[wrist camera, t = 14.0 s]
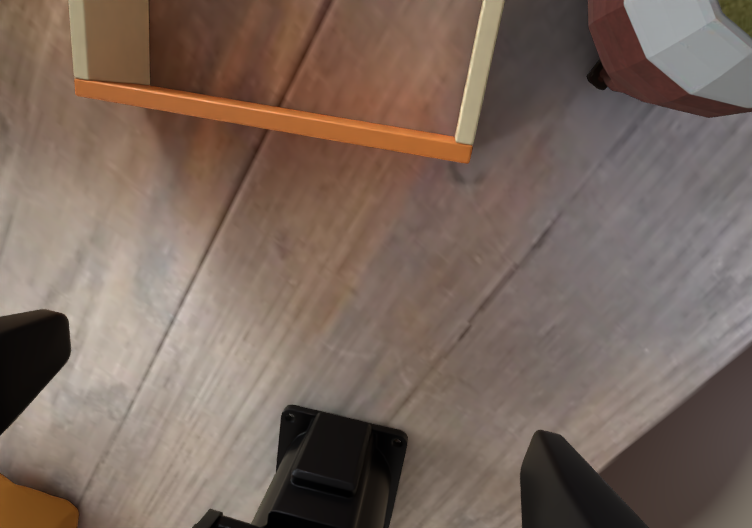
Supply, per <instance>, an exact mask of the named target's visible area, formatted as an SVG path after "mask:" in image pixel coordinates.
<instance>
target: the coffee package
mask: <svg viewBox="0 0 752 528" xmlns="http://www.w3.org/2000/svg"><path fill="white" fill-rule="evenodd" d="M78 519H79V511H78V510H77V508H76V507H75V506H74V505H73V504H71V503H70V502H69V501H68V500H66V499H63V498H59V497H55V496H51V495H49V494H46V493H44V492H41V491H38V490H35V489H32V488H29V487H25V486H21V485H16V484H14V483H13V482H12V481H10V480H9V479H8V478H6V477H5V476H4V475H2V474H1V473H0V528H77V525H78Z"/></svg>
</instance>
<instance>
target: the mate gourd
mask: <svg viewBox="0 0 752 528" xmlns="http://www.w3.org/2000/svg"><path fill="white" fill-rule="evenodd" d="M588 27H589V30H590V33H591V36H592V39H593V41H594V44H595V47H596V49H597V52H598V55H599V57H600V60H599V61H598V62H597V63H596V64H595V66H594V67H593V68H592V70H591V71H590V72H589V74H588V75H587V79H588V81H589V82H590V83H591V84H593V85H594V86H595V87H596V88H598V89H601V90H605V89H606V88H607V87H608V88H610V89H611V90H612V91H617V92H623V93H625V94H628V95H630V96H632V97H634V98H636V99H638V100H640V101H643V102H646V103H650V104H654V105H658V106H662V107H666V108H670V109H674V110H678V111H683V112H687V113H691V114H695V115H699V116H703V117H707V118H711V117H718V116H725V115H732V114H739V113H746V112H752V0H588Z"/></svg>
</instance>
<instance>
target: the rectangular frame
mask: <svg viewBox="0 0 752 528" xmlns="http://www.w3.org/2000/svg"><path fill="white" fill-rule="evenodd" d="M68 2H69V16H70V29H71V43H72V56H73V70H74V77H75V78H76V79H75V80H74V82H75V94H76V95H77V96H80V97H86V98H92V99H97V100H103V101H109V102H115V103H120V104H126V105H132V106H138V107H143V108H149V109H155V110H161V111H166V112H172V113H178V114H184V115H189V116H195V117H201V118H207V119H212V120H218V121H224V122H230V123H235V124H241V125H247V126H253V127H259V128H264V129H270V130H276V131H282V132H287V133H293V134H299V135H305V136H310V137H316V138H322V139H328V140H333V141H339V142H345V143H351V144H356V145H362V146H368V147H374V148H379V149H385V150H391V151H397V152H402V153H408V154H414V155H420V156H425V157H431V158H437V159H443V160H449V161H454V162H460V163H466V164H468V163H469V162H470V158H471V153H472V149H473V147H472V145H473V143H474V140H475V135H476V131H477V126H478V122H479V117H480V112H481V108H482V103H483V99H484V94H485V90H486V85H487V81H488V76H489V72H490V67H491V62H492V58H493V53H494V49H495V44H496V40H497V35H498V31H499V26H500V22H501V17H502V13H503V8H504V3H505V0H483V1H482V6H481V10H480V15H479V20H478V25H477V30H476V35H475V40H474V45H473V49H472V54H471V59H470V64H469V69H468V74H467V79H466V84H465V88H464V93H463V98H462V103H461V108H460V113H459V118H458V123H457V128H456V132H455V137H454V136H448V135H442V134H436V133H430V132H424V131H418V130H412V129H406V128H400V127H394V126H388V125H382V124H376V123H370V122H364V121H358V120H352V119H346V118H340V117H335V116H329V115H323V114H317V113H311V112H305V111H299V110H293V109H287V108H281V107H275V106H269V105H263V104H257V103H251V102H245V101H239V100H233V99H227V98H221V97H216V96H210V95H204V94H198V93H192V92H186V91H180V90H174V89H168V88H162V87H156V86H150V54H149V3H148V0H68Z"/></svg>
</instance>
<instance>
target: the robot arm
mask: <svg viewBox="0 0 752 528" xmlns="http://www.w3.org/2000/svg"><path fill="white" fill-rule="evenodd" d="M70 354H71V342H70V331H69V321H68V318H67V317H66V315H64V314H62V313H59V312H55V311H51V310H46V309H40V310H35V311H29V312H24V313H18V314H13V315H7V316H2V317H0V435H1V434H2V433H3V432H4V431H5V430H6V429H7V428H8V427H9V426H10V425H11V424H12V423H13V422H14V421H15V420H16V419H17V418H18V417H19V415H20V414H21V413H22V412H23V411H24V410H25V409H26V408H27V407H28V405H29V404H30V403H31V402H32V401H33V400H34V399H35V398H36V396H37V395H38V394H39V393H40V392H41V391H42V390H43V389H44V387H45V386H46V385H47V384H48V383H49V382H50V381H51V380H52V378H53V377H54V376H55V375H56V374H57V373H58V372H59V371H60V370H61V368H62V367H63V366H64V365H65V364H66V363H67V361H68V359H69V357H70ZM289 414H293V415H294V416H295V417H292V416H290V415H289ZM395 439H398V440H400V441H401V442H396V441H394V440H395ZM407 442H408V437H407V435H406V433H404V432H403V431H401V430H397V429H393V428H389V427H385V426H381V425H376V424H372V423H368V422H364V421H359V420H355V419H351V418H347V417H343V416H338V415H334V414H330V413H326V412H322V411H317V410H313V409H309V408H305V407H300V406H296V405H288V406H287V407H285V409H284V411H283V412H282V415H281V424H280V434H279V445H278V455H277V465H276V474H275V476H274V478H273V480H272V482H271V484H270V486H269V488H268V490H267V492H266V494H265V496H264V498H263V500H262V502H261V504H260V506H259V508H258V510H257V513H256V515H255V517H254V519H253V521H252V523H251V524H250V523H246V522H243V521H240V520H237V519H233V518H230V517H227V516H223V513H222V512H219V511H216V510H213V509H209V510H208V512H207V513H206V514H205V515H204V516H203V517H202V519H201V520H200V521H199V522H198V523H197V524H195V525H194V526H193V527H192V528H389V525H390V521H391V516H392V512H393V507H394V503H395V498H396V494H397V489H398V484H399V480H400V475H401V471H402V466H403V462H404V457H405V453H406V448H407ZM520 487H521V511H522V528H649V527H648V526H647V525H646V524H645V523H644V522H643V521H642V520H641V519H640V518H639V517H638V516H637V515H636V514H635V512H634V511H633V510H632V509H631V508H630V507H629V506H628V505H627V504H626V503H625V502H624V501H623V500H622V499H621V498H620V497H619V496H618V494H616V492H615V491H613V489H612V488H611V487H610V486H609V485H608V484H607V483H606V482H605V481H604V480H603V479H602V478H601V477H600V476H599V474H598V473H597V472H596V471H595V470H594V469H593V468H592V467H591V466H590V465H589V464H588V463H587V462H586V461H585V460H584V459H583V457H582V456H581V455H580V454H579V453H578V452H577V451H576V450H575V449H574V448H573V447H572V446H571V445H570V444H569V443H568V442H567V441H566V439H565V438H564V437H562V436H561V435H559V434H556V433H552V432H548V431H544V430H538V431H536V432H535V433H534V435H533V437H532V439H531V442H530V445H529V447H528V450H527V452H526V455H525V457H524V460H523V463H522V466H521V472H520Z"/></svg>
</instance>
